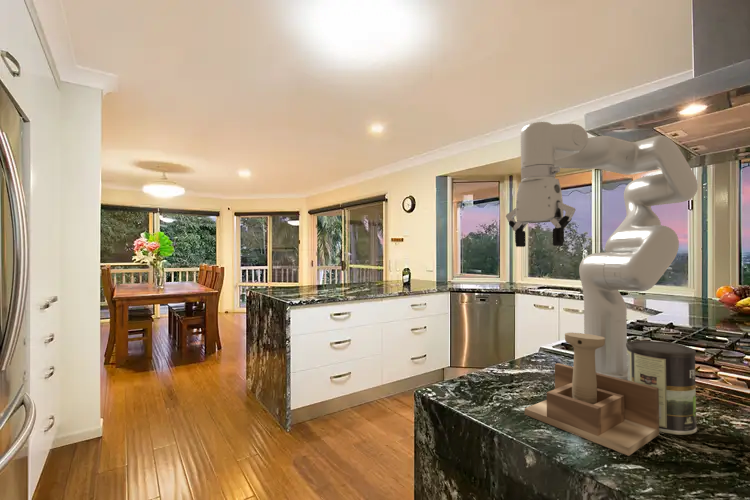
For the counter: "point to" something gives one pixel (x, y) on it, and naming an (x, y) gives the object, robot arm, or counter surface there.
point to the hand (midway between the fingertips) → (538, 246)
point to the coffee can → (667, 381)
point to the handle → (584, 365)
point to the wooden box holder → (602, 411)
